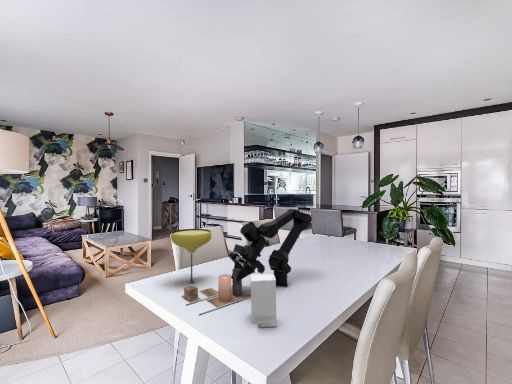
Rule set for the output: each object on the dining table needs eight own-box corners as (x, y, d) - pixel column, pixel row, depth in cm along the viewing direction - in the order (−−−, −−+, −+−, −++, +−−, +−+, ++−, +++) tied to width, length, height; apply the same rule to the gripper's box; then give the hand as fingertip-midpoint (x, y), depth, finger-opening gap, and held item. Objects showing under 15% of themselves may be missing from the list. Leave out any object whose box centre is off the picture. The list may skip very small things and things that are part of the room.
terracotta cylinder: (232, 296, 105) (232, 274, 105) (230, 302, 100) (229, 278, 100) (220, 296, 106) (219, 274, 106) (217, 301, 101) (217, 278, 101)
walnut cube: (193, 294, 107) (193, 285, 107) (197, 297, 104) (197, 287, 104) (184, 297, 105) (184, 287, 105) (188, 300, 102) (188, 290, 102)
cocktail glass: (170, 281, 127) (170, 229, 126) (207, 277, 133) (207, 227, 133) (172, 295, 110) (172, 236, 109) (215, 289, 116) (214, 233, 116)
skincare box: (274, 317, 91) (274, 273, 91) (277, 328, 84) (277, 279, 84) (250, 318, 91) (250, 273, 91) (251, 328, 84) (251, 280, 84)
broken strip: (211, 290, 115) (211, 287, 115) (221, 296, 109) (221, 293, 109) (180, 299, 106) (180, 296, 106) (189, 306, 100) (189, 302, 100)
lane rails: (233, 293, 112) (233, 290, 112) (249, 301, 104) (249, 298, 104) (185, 308, 98) (185, 304, 98) (199, 319, 90) (199, 315, 90)
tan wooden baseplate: (239, 292, 112) (239, 265, 112) (250, 298, 106) (250, 269, 106) (206, 302, 102) (206, 273, 102) (217, 310, 96) (216, 278, 96)
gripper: (231, 233, 116) (210, 263, 109) (259, 240, 102) (236, 274, 95) (245, 249, 121) (225, 278, 114) (274, 257, 107) (253, 290, 100)
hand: (234, 279), depth 106 cm, fingers closed on tan wooden baseplate, 3 cm apart
